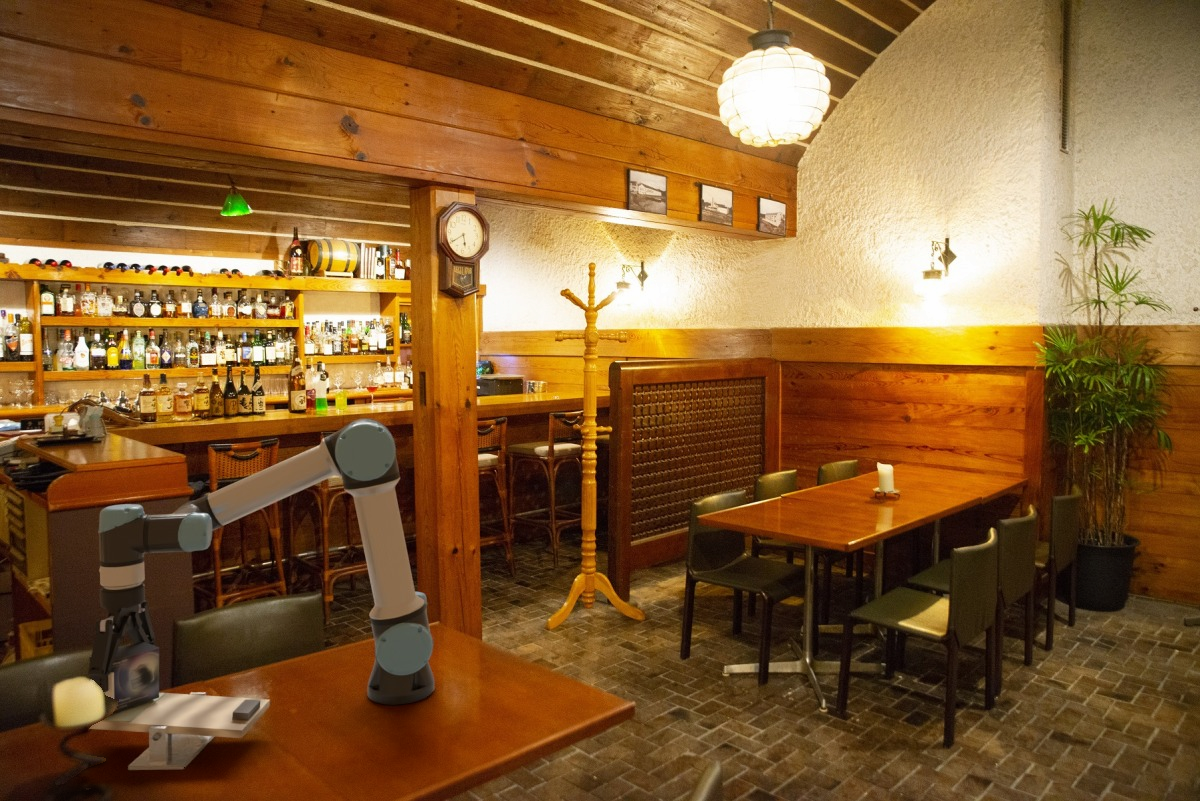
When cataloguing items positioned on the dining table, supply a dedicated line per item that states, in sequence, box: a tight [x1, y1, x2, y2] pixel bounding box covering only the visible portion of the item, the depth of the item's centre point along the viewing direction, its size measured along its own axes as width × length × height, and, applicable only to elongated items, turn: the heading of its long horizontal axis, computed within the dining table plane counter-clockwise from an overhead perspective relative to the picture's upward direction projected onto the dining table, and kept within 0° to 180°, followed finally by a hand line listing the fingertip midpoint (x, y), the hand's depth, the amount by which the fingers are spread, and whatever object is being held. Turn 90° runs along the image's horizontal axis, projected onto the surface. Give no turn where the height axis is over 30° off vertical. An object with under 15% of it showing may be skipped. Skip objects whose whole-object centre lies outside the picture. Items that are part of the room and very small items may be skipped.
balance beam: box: [88, 692, 271, 739], centre depth 156 cm, size 30×14×3 cm, turn 92°
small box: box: [89, 642, 160, 713], centre depth 156 cm, size 11×6×10 cm, turn 148°
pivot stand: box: [127, 691, 216, 771], centre depth 156 cm, size 10×18×8 cm, turn 2°
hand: (124, 693), depth 156 cm, fingers closed on small box, 12 cm apart
